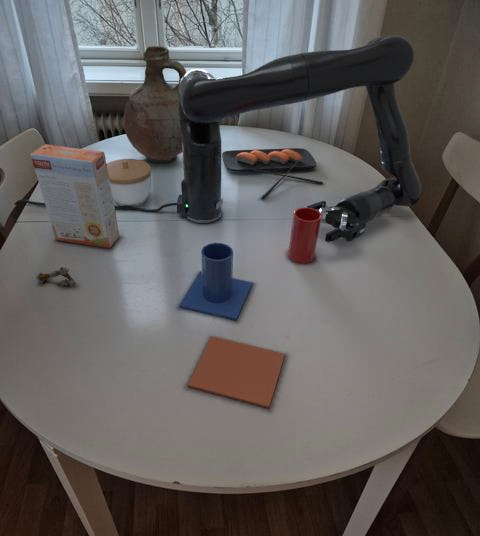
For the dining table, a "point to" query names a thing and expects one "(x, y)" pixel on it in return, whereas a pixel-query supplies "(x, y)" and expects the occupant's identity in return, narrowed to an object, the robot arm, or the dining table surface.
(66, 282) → the chicken wing bone
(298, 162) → the sushi plate
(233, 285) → the blue mat
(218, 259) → the blue cup
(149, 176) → the lidded bowl
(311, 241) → the red cup
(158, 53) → the jug
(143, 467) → the dining table surface
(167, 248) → the dining table surface
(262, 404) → the terracotta mat
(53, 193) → the cracker box
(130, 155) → the dining table surface
